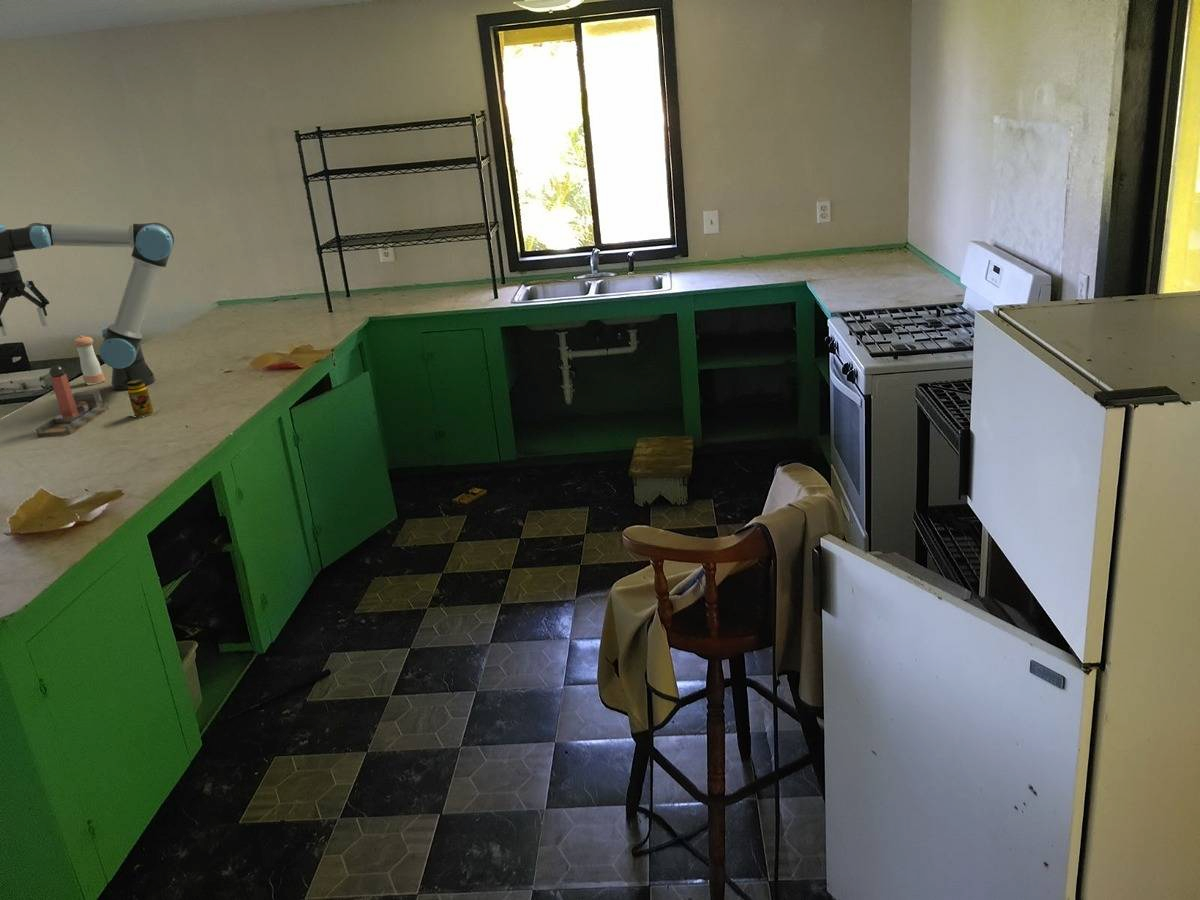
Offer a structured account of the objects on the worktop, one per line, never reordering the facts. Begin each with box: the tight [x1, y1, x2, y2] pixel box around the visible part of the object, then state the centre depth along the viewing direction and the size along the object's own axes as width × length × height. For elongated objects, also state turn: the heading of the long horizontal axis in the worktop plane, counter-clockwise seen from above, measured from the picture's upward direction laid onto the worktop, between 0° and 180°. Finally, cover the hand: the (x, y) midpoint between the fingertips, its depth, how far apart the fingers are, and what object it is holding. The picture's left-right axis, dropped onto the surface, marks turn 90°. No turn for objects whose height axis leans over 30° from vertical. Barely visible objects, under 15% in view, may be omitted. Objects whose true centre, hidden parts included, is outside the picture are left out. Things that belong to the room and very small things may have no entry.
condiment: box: [127, 379, 160, 417], centre depth 321 cm, size 7×8×12 cm
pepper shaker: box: [72, 334, 106, 384], centre depth 367 cm, size 7×7×19 cm
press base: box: [35, 389, 110, 438], centre depth 319 cm, size 26×11×7 cm, turn 0°
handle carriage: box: [49, 365, 89, 423], centre depth 317 cm, size 9×8×19 cm
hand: (25, 330), depth 332 cm, fingers open, 13 cm apart
